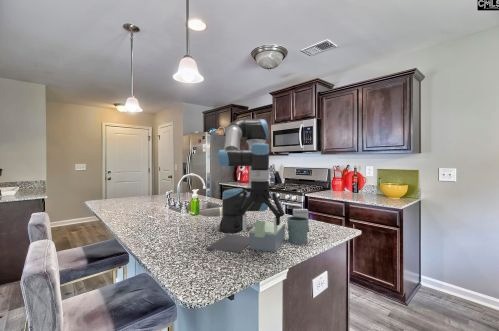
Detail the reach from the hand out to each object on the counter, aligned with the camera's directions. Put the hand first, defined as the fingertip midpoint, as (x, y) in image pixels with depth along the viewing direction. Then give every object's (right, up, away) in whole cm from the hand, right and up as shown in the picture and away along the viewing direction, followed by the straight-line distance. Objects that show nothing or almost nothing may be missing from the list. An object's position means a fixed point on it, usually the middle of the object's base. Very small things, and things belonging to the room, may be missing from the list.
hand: (259, 231), depth 104 cm
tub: (+4, -10, +12) cm, 16 cm away
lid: (+3, -2, +10) cm, 11 cm away
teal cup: (+19, -10, +16) cm, 27 cm away
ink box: (+25, -10, +40) cm, 48 cm away
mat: (-12, -10, +14) cm, 21 cm away
